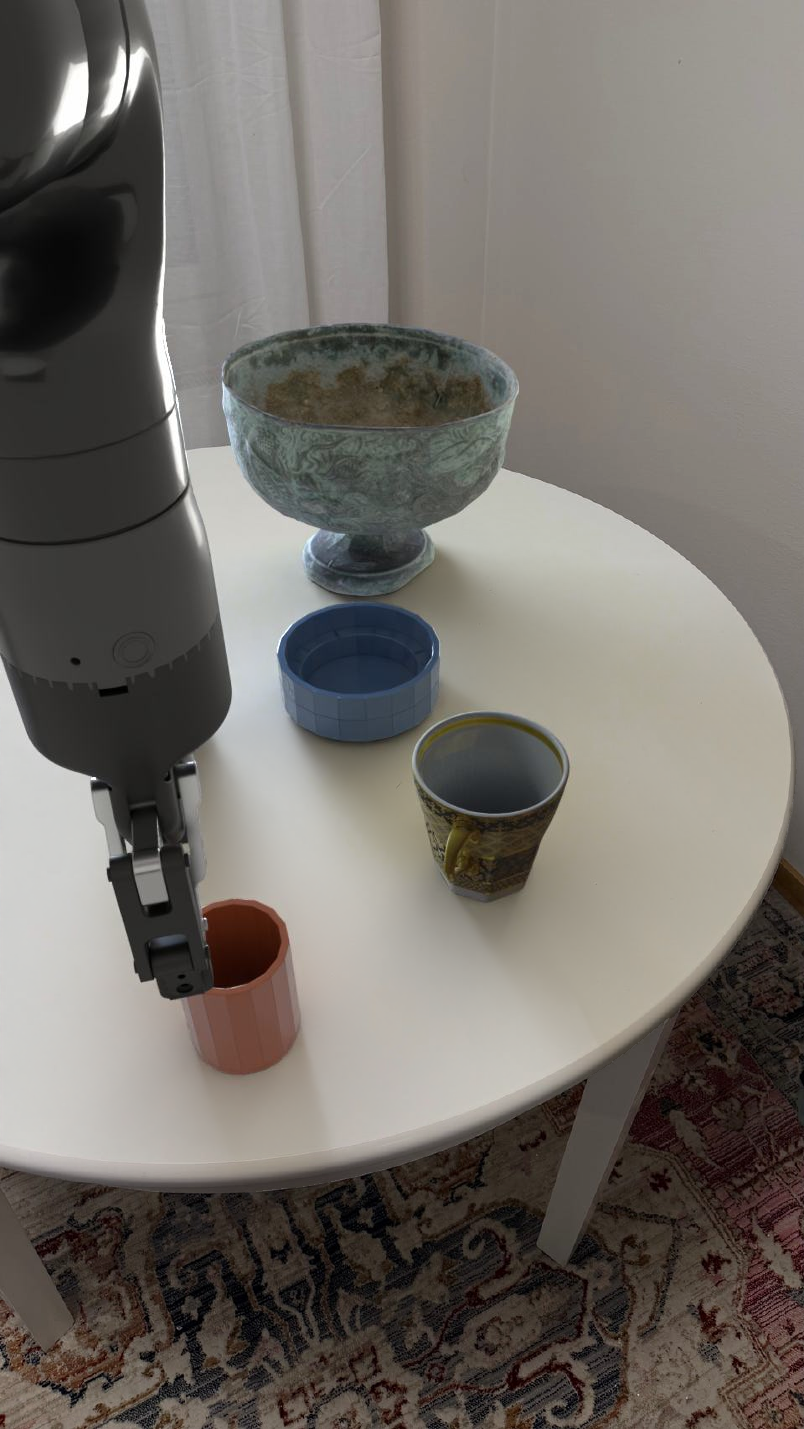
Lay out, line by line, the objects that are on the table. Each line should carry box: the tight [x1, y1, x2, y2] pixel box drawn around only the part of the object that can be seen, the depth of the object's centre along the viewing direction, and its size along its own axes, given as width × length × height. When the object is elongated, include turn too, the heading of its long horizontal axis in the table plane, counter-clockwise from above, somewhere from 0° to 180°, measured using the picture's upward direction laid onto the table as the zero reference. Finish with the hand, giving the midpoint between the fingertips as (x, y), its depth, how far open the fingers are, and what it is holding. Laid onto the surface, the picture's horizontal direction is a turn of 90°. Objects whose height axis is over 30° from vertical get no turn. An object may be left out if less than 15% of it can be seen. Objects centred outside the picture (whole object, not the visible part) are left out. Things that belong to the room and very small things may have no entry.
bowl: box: [276, 601, 441, 742], centre depth 83 cm, size 13×13×5 cm
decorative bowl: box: [221, 322, 520, 597], centre depth 95 cm, size 26×26×20 cm
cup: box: [180, 897, 301, 1075], centre depth 58 cm, size 6×6×8 cm
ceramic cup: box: [411, 710, 571, 903], centre depth 66 cm, size 13×10×10 cm
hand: (181, 909), depth 45 cm, fingers open, 8 cm apart
